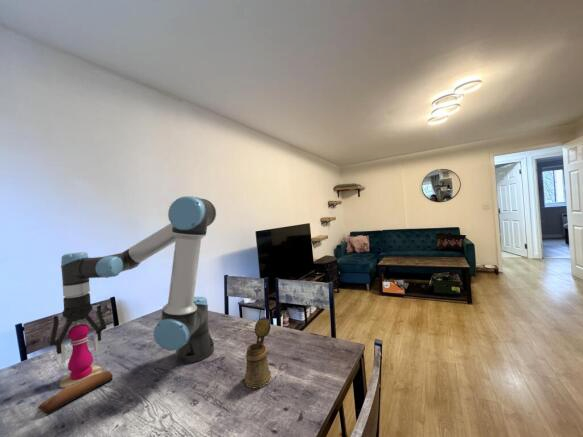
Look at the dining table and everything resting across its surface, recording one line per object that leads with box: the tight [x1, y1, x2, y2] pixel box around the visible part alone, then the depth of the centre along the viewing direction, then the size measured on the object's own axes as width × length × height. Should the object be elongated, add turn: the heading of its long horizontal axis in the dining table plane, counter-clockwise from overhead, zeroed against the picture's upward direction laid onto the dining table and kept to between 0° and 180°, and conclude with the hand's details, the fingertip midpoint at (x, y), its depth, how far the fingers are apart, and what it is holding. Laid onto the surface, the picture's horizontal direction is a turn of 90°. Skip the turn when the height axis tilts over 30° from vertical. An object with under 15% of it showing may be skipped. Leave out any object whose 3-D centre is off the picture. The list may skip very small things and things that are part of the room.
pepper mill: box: [67, 320, 94, 380], centre depth 93 cm, size 7×7×20 cm
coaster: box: [59, 365, 103, 389], centre depth 93 cm, size 12×12×1 cm
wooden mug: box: [244, 316, 272, 388], centre depth 88 cm, size 9×14×18 cm, turn 164°
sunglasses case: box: [37, 370, 113, 416], centre depth 84 cm, size 18×7×7 cm
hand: (80, 355), depth 93 cm, fingers open, 9 cm apart
